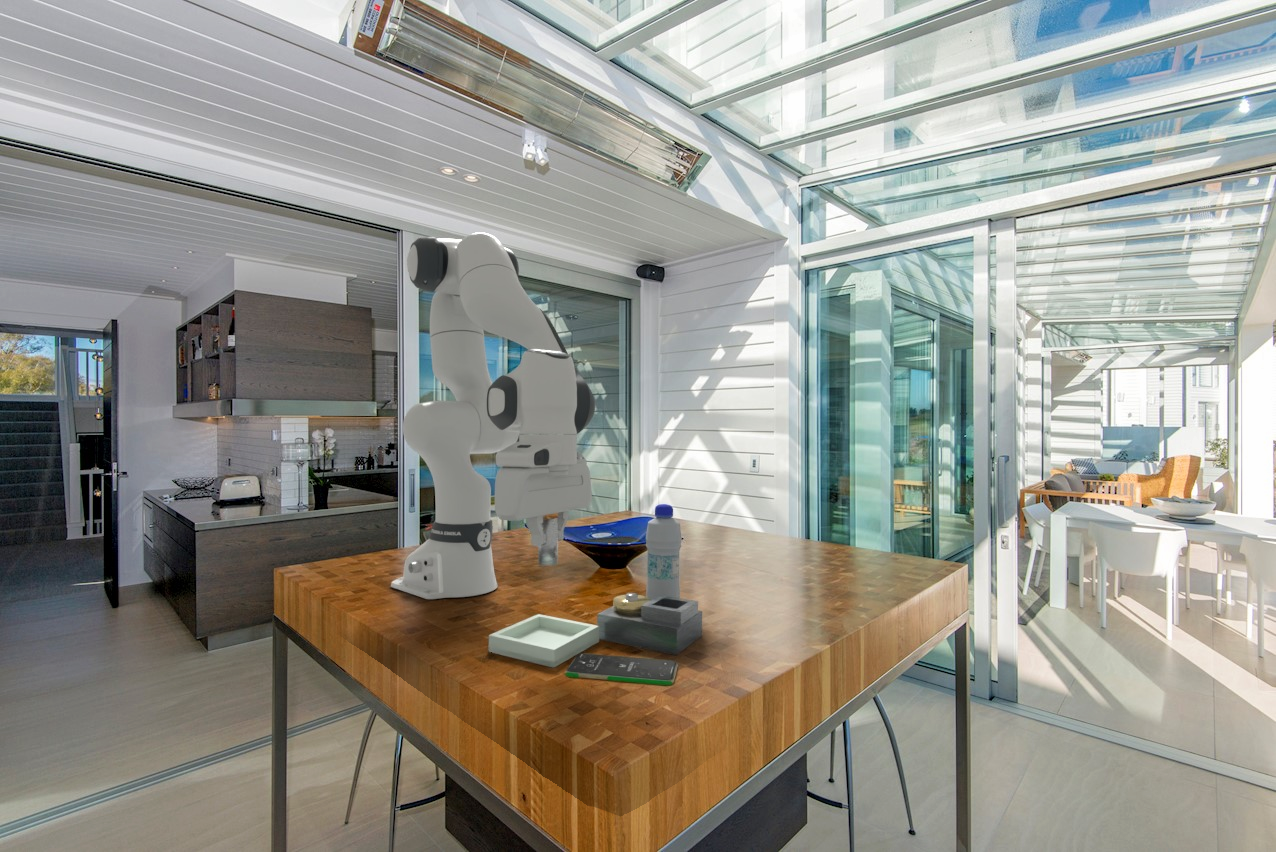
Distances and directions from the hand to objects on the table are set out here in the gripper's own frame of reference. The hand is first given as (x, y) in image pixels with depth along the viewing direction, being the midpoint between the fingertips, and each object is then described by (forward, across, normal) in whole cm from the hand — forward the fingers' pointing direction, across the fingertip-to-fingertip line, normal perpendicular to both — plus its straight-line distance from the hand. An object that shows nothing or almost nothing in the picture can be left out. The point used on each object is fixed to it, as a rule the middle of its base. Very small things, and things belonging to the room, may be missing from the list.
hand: (547, 543), depth 92 cm
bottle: (+16, -25, +8) cm, 31 cm away
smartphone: (+17, +2, +14) cm, 22 cm away
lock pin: (+3, 0, 0) cm, 3 cm away
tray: (+16, 0, 0) cm, 16 cm away
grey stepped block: (+16, -12, +12) cm, 23 cm away
